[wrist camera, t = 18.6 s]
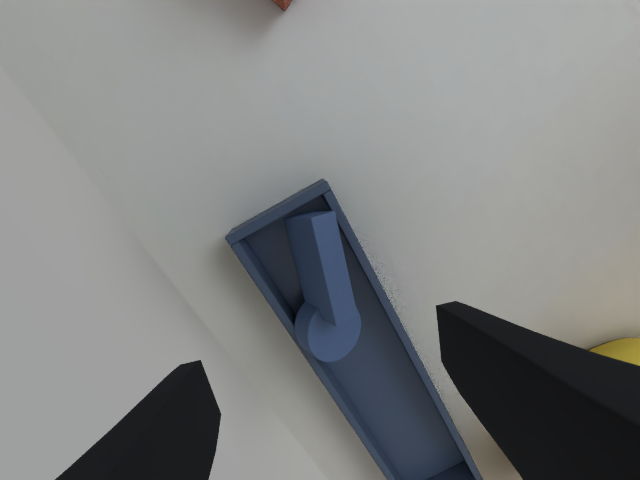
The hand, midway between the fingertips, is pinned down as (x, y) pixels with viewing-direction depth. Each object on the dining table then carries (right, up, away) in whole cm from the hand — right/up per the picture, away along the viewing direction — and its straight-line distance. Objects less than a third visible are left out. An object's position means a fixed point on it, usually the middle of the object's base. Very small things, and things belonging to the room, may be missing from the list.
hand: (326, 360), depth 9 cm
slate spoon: (-1, +1, +8) cm, 8 cm away
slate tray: (+3, -5, +11) cm, 13 cm away
